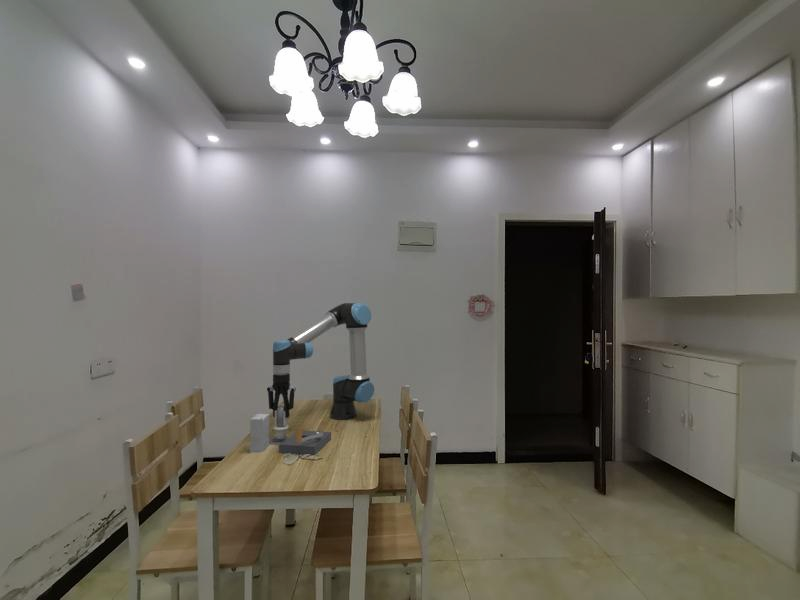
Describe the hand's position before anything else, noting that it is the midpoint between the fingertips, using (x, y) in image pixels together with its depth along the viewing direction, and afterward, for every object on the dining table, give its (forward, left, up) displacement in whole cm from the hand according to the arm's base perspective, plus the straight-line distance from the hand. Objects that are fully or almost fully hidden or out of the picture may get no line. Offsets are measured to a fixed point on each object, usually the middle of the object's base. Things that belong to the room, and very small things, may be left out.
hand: (281, 424), depth 183 cm
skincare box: (+11, -5, -8) cm, 15 cm away
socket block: (+4, +14, -8) cm, 17 cm away
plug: (0, 0, -6) cm, 6 cm away
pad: (0, 0, -8) cm, 8 cm away
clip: (+9, +17, -2) cm, 20 cm away
